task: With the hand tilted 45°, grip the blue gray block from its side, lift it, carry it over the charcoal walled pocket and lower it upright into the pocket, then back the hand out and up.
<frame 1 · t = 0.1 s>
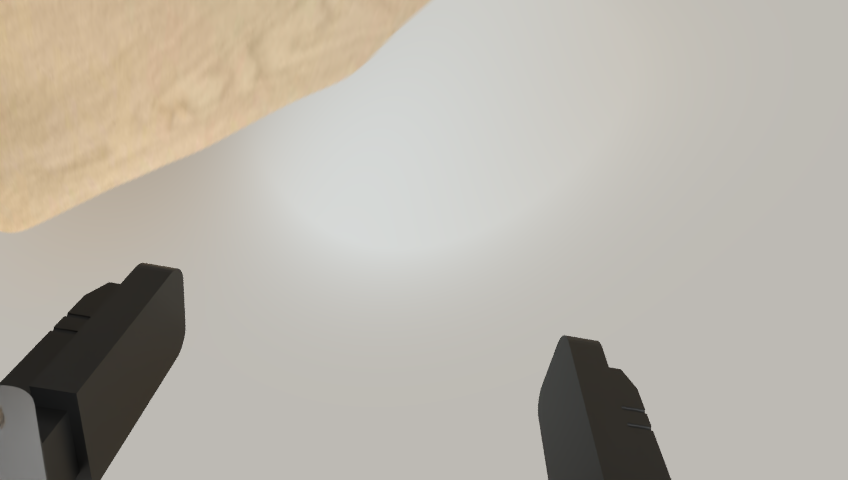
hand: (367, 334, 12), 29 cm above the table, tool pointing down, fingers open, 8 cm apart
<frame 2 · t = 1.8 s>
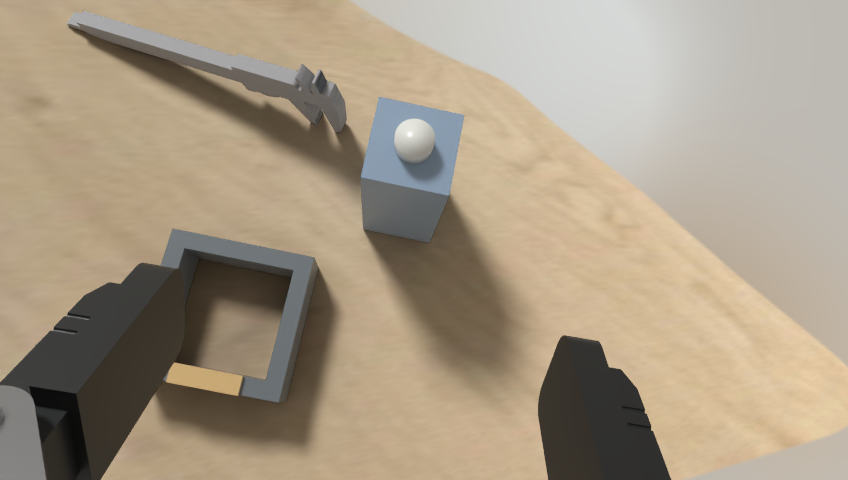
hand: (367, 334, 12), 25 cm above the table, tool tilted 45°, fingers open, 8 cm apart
blue gray block: (402, 204, 39), on the table
caliper: (209, 77, 40), on the table
pocket plate: (235, 318, 36), on the table
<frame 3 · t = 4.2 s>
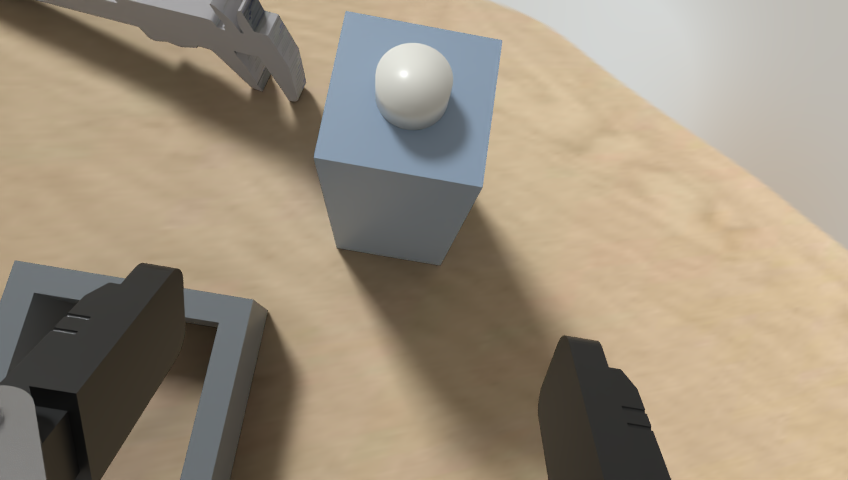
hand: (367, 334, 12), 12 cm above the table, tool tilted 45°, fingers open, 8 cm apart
blue gray block: (397, 207, 25), on the table
caliper: (98, 26, 27), on the table
pocket plate: (134, 400, 23), on the table
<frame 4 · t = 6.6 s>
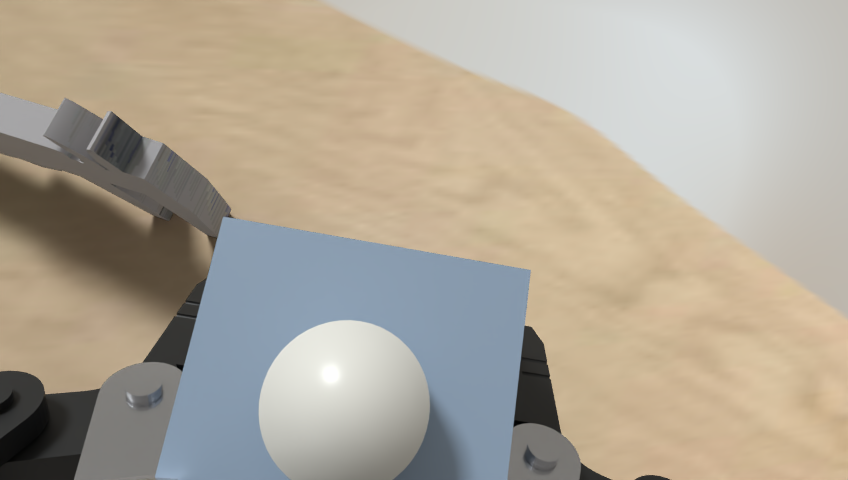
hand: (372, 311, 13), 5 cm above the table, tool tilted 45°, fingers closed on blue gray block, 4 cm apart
blue gray block: (363, 396, 17), on the table, touching gripper
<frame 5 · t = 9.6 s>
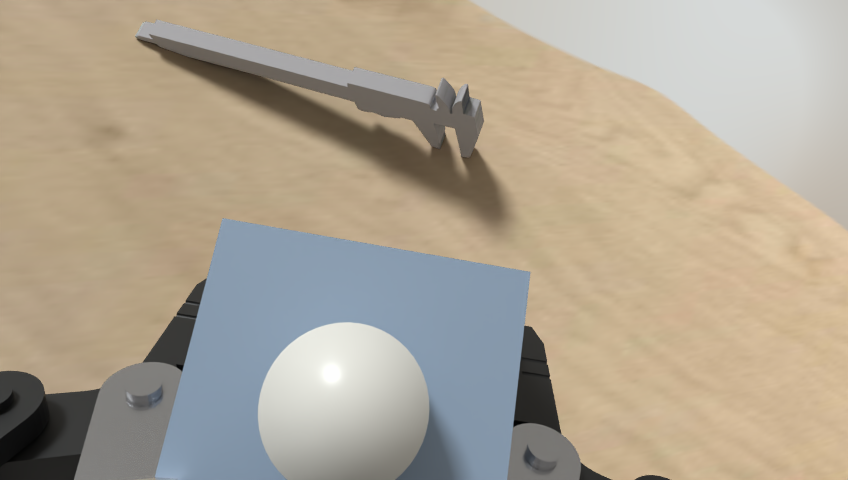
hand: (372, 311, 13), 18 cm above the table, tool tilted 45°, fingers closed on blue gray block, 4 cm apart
blue gray block: (362, 397, 17), point 12 cm above the table, touching gripper
caliper: (306, 95, 34), on the table
when the fingers open (7 cm above the table, at t = 12.4 s): blue gray block drops 1 cm, resting in pocket plate.
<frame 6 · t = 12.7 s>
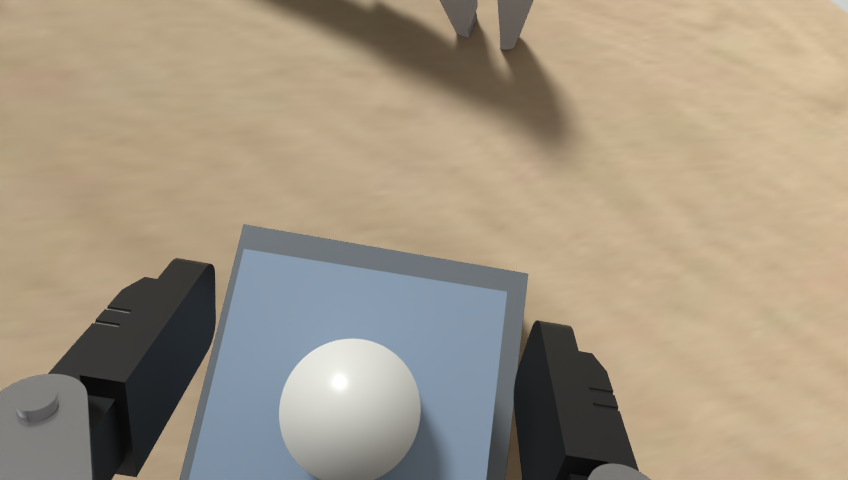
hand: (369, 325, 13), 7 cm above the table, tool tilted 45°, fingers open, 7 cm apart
blue gray block: (363, 398, 19), resting in pocket plate
pocket plate: (362, 395, 19), on the table
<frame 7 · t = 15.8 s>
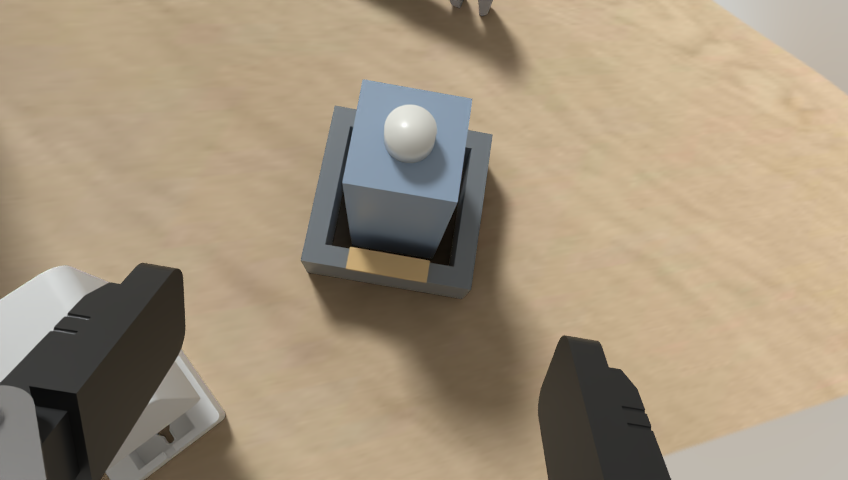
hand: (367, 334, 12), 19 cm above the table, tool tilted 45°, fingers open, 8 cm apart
blue gray block: (398, 213, 32), resting in pocket plate
security camera: (143, 394, 29), on the table
pocket plate: (398, 212, 32), on the table
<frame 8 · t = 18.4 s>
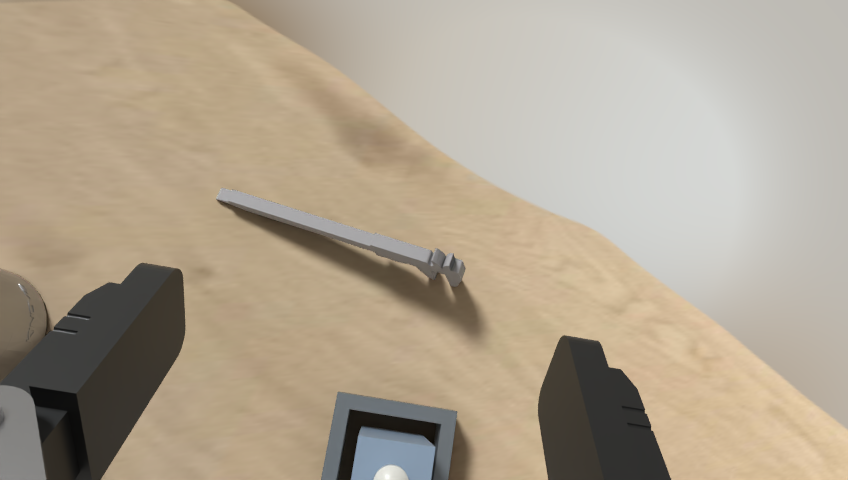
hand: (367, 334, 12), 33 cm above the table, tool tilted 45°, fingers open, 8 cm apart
blue gray block: (386, 461, 42), resting in pocket plate
caliper: (338, 239, 47), on the table
pocket plate: (386, 460, 42), on the table
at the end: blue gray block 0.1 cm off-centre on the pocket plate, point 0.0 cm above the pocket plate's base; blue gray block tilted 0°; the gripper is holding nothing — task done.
